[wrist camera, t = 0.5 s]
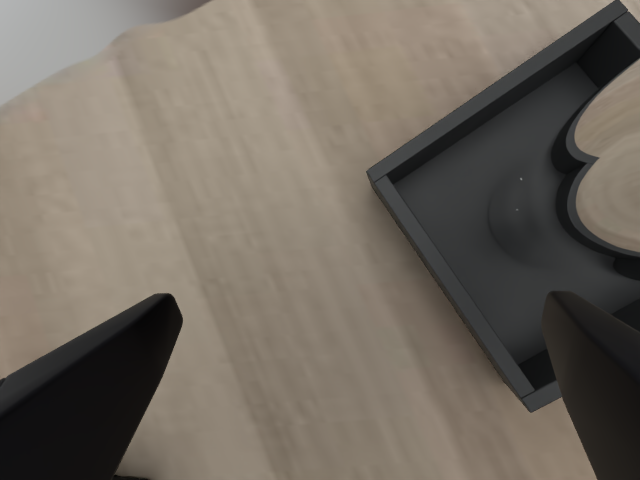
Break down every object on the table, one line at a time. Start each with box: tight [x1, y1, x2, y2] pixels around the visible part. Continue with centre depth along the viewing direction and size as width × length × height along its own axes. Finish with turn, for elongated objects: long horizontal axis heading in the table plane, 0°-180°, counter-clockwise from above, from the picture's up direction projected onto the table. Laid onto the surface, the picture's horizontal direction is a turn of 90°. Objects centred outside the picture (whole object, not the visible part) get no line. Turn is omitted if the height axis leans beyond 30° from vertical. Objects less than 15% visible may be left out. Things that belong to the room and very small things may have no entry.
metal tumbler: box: [489, 56, 640, 282], centre depth 14 cm, size 7×7×15 cm
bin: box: [366, 0, 640, 412], centre depth 19 cm, size 15×15×4 cm
